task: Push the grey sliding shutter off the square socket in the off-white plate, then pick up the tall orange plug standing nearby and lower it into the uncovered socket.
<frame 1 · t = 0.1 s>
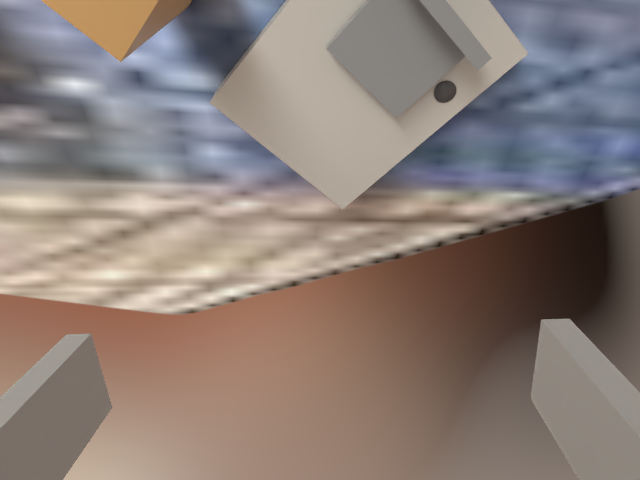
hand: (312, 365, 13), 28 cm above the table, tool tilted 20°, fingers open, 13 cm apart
shutter: (403, 51, 28), point 6 cm above the table, slide at 0.0 cm
socket plate: (359, 61, 34), on the table
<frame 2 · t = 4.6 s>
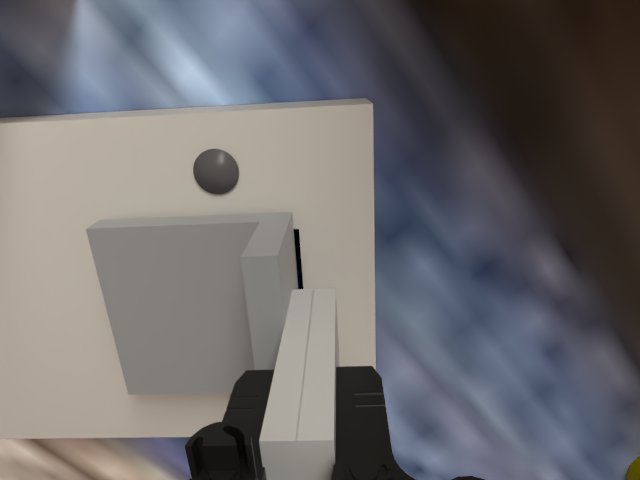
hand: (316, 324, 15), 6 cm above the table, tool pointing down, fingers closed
shutter: (193, 330, 15), point 6 cm above the table, slide at 0.9 cm, touching gripper
socket plate: (181, 260, 21), on the table
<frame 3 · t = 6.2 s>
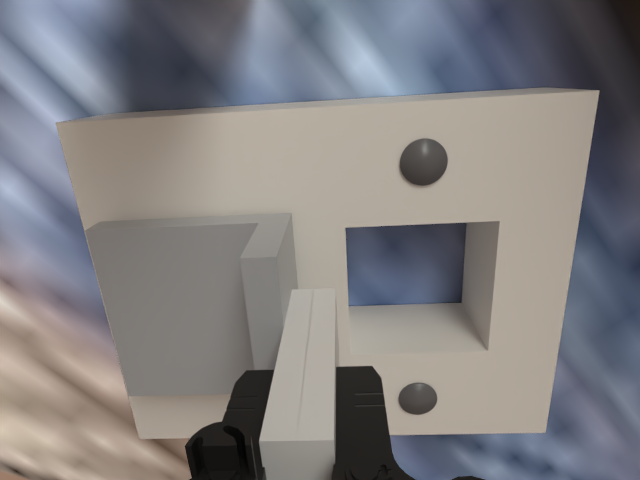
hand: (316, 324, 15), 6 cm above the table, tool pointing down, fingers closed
shutter: (192, 331, 15), point 6 cm above the table, slide at 8.1 cm, touching gripper
socket plate: (330, 255, 21), on the table
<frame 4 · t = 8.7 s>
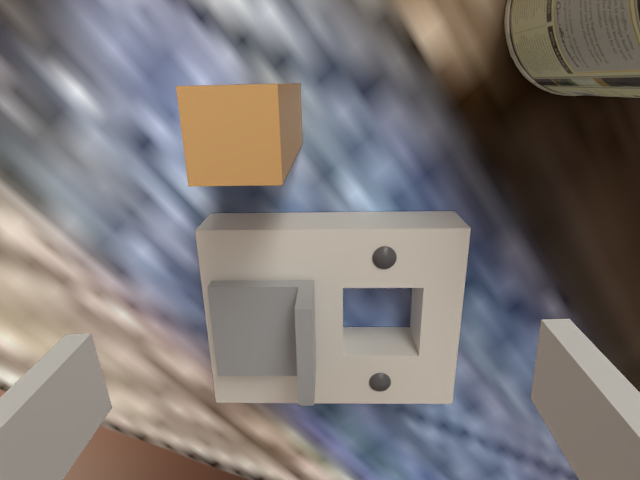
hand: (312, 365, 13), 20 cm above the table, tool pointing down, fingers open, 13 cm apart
coffee can: (583, 10, 27), on the table
shutter: (261, 341, 29), point 6 cm above the table, slide at 8.2 cm
socket plate: (332, 296, 35), on the table
plug: (272, 114, 30), on the table
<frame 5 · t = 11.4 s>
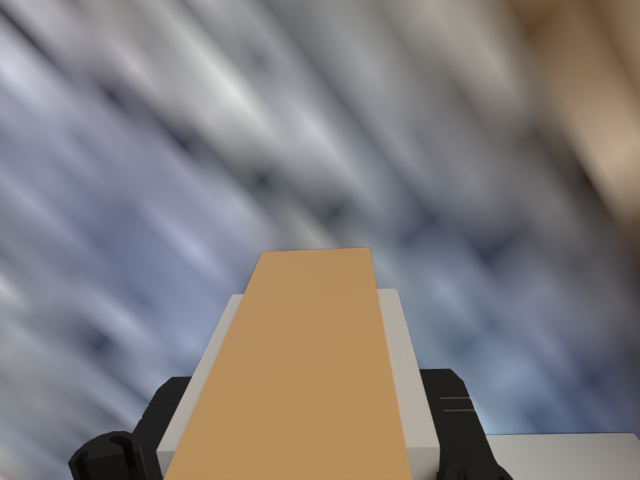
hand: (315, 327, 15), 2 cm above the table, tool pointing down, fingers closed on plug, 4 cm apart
plug: (318, 297, 17), on the table, touching gripper
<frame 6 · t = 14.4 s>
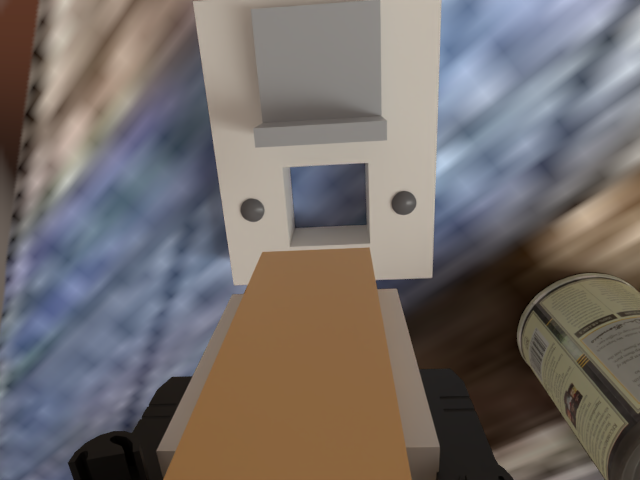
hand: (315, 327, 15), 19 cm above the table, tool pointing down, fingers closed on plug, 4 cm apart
coffee can: (579, 326, 36), on the table
shutter: (318, 73, 24), point 6 cm above the table, slide at 8.2 cm
socket plate: (326, 144, 31), on the table
plug: (318, 297, 17), point 17 cm above the table, touching gripper
when the fingers open (5 cm above the table, at t = 17.6 s): plug drops 3 cm, resting in socket plate.
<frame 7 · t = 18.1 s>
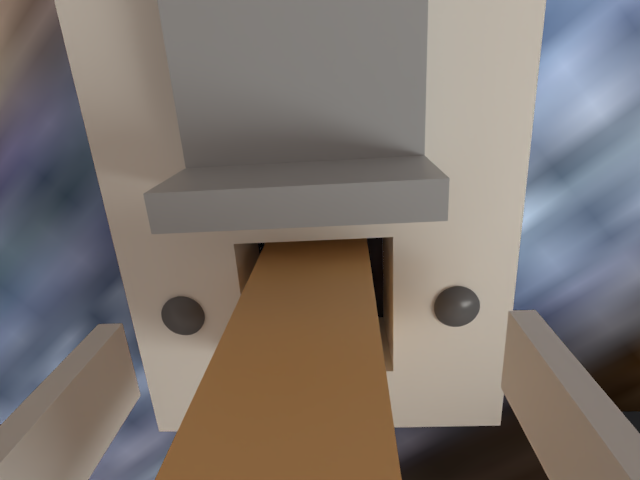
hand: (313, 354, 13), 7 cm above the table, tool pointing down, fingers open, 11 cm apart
shutter: (292, 69, 11), point 6 cm above the table, slide at 8.2 cm
socket plate: (316, 190, 18), on the table
plug: (321, 266, 20), resting in socket plate
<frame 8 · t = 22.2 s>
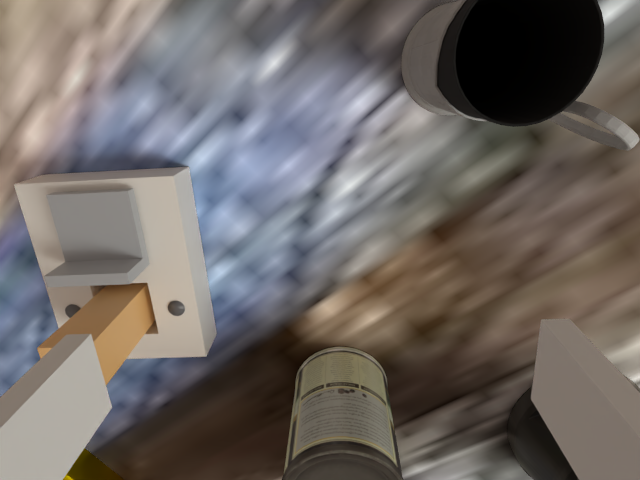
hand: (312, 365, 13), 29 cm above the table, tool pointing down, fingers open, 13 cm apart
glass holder: (479, 79, 37), on the table
coffee can: (341, 383, 48), on the table
shutter: (90, 237, 36), point 6 cm above the table, slide at 8.2 cm
socket plate: (135, 259, 44), on the table
plug: (142, 290, 45), resting in socket plate
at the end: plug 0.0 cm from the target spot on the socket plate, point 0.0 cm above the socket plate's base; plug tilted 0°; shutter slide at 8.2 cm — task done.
